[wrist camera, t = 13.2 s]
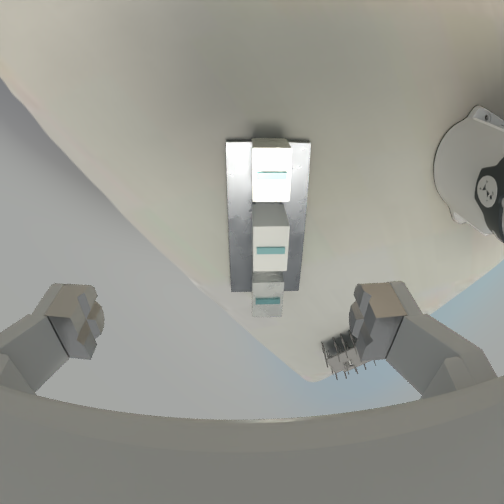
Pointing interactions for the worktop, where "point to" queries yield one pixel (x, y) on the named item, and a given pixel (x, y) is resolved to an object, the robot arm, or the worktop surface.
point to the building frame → (344, 358)
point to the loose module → (270, 237)
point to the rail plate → (266, 192)
